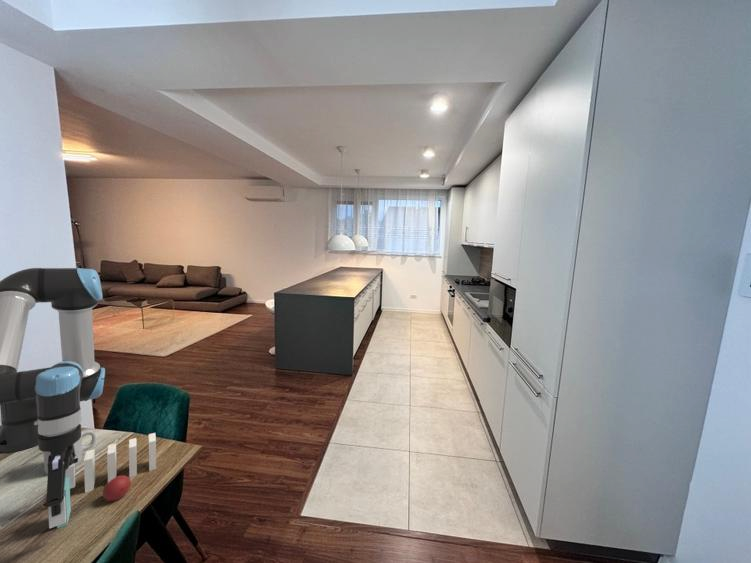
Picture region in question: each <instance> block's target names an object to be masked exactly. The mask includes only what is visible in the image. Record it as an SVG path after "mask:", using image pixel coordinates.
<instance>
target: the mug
mask: <svg viewBox="0 0 751 563" xmlns="http://www.w3.org/2000/svg"><path fill="white" fill-rule="evenodd" d="M88 435H89V436H91V441H90V442H89V444H86V445H83V444H82V441H83V440H82V438H84V437H86V436H88ZM96 440H97V436H96V433H95V431H94V430H92V429H86V430H81V438H80V439H79V440H78V441H77V442H76V443H74V450H75V454H76V456H75V458H78V462H77V463H73V464H74V465H75V467H77V466H78V465H79V464H80V463H81V462H82V460H83V452H85V451H89V449H90V450H91V449H92V448H93V447H94V445H95V443H96ZM49 455H51V452H43V471H44V474H46V475H48V466H47V464H48V457H49ZM75 458H74V459H75ZM73 464H72V465H73Z"/></svg>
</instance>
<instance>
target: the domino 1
mask: <svg viewBox="0 0 751 563" xmlns="http://www.w3.org/2000/svg"><path fill="white" fill-rule="evenodd" d="M64 496H65V509H66V522H65V523H63V524H61V525H58V526H56V529H60V528H63V527H65V526H67V525H68V523H69V519H70V515H71V512H72V510H71V508H72V507H71V489H70V482H69V477H68V478H65V486H64Z"/></svg>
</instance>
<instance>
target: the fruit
mask: <svg viewBox="0 0 751 563" xmlns="http://www.w3.org/2000/svg"><path fill="white" fill-rule="evenodd" d="M131 484H132V483H131V480H130V478H129V476H126V475H124V474H123V475H117V476H116V477H115V478H114V479H112V480H111V481H109V482H108V481H107V483H105V485H104V487H103V489H102V496H103V499H105V500H106V501H108V502H117V501H119V500H120V499H122V498H124V497H125V495H126V494H127V493H128V491H129V490H130V488H131Z"/></svg>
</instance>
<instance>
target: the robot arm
mask: <svg viewBox="0 0 751 563" xmlns="http://www.w3.org/2000/svg"><path fill="white" fill-rule="evenodd" d="M101 283H102V282H101V279H100V275H99V274H98V271H96V270H95V269H93V268H80V267H70V268H69V267H68V268H67V267H66V268H65V267H62V268H61V267H60V268H59V267H55V268H53V267H50V268H49V267H47V268H46V267H45V268H44V267H43V268H42V267H31V268H26V269H23V270H19V271H16V272H14V273H12V274H9V275H8V276H6V277H4V278H3V279H2V280H0V421H1V425H0V453H13V452H19V451H23V450H26V449H30V448H33V447H36V446H38V447H37V448H38V449H39V451H41V452H43V453H44V452H51V455H49V457H48V464H47V466H48V474H47V483H46V485H47V486H46V495H45V496H46V498H45V502H44V503H42V507H43V508H48V510H47V511H48V528H49V529H52V528H55V527H57V526H58V525H61V524H63V523H65V522H66V509H65V496H64V486H65V478H68V477H69V482H70V490H71V489H74V488H75V487H76V471H75V470H76V468H75V465H74V464H73V463H77V462H78V458H75V456H76V454H75V450H74V443H76V442H77V441H78V440H79V439H80V438H81V431H82V425H81V422H82V415H81V414H82V410H81V408H82V407H81V402H87V401H89V400H94V399H97V398H99V397H101V395H102V394H103V390H104V383H105V377H106V369H105V367H101V364H100V362H99V363H98V362H97V361H95V360H96V359H95V344H94V343H95V342H94V323H93V322H94V320H93V308H94V309H95V307H96V306H97V305H98V301H102V300H103V299H104V298H103V290H102V284H101ZM37 303H51V308H52V309H53V310H55V311H57V312H58V323H59V336H60V349H61V362H57V363H55V364H54V365H52V366H50V367H43V368H37V369H30V370H23V371H22V370H21V371H18V369H19V365H20V359H21V354H22V349H23V344H24V338H25V334H26V329H27V325H28V324H27V323H28V320H29V314H30V310H32V309H33V308H34V307H35V306H36V304H37ZM74 458H75V459H74ZM72 464H73V465H72Z"/></svg>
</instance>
